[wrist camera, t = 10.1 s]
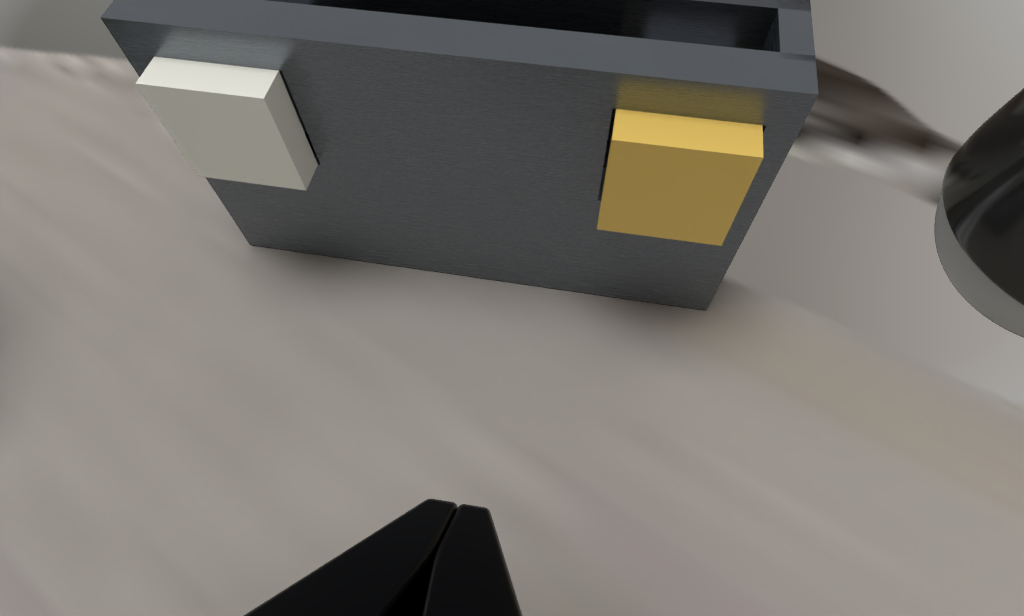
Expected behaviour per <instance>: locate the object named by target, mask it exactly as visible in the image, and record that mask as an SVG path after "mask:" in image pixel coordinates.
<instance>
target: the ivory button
mask: <svg viewBox="0 0 1024 616" xmlns="http://www.w3.org/2000/svg"><path fill="white" fill-rule="evenodd" d="M135 84H136V85H137V87H138V88H139V89H140V91H141V92H142V94H143V95H144V97H145V98H146V100H147V101H148V103H149V104H150V106H151V107H152V109H153V110H154V112H155V113H156V115H157V116H158V118H159V119H160V121H161V122H162V124H163V125H164V127H165V128H166V130H167V131H168V133H169V134H170V136H171V137H172V138H173V140H174V141H175V143H176V144H177V146H178V147H179V149H180V150H181V152H182V153H183V155H184V156H185V158H186V159H187V161H188V162H189V164H190V165H191V167H192V168H193V170H194V171H195V173H196V174H197V176H201V177H208V178H216V179H223V180H231V181H238V182H246V183H253V184H261V185H268V186H276V187H283V188H291V189H298V190H307V188H308V186H309V183H310V181H311V179H312V177H313V174H314V172H315V170H316V168H317V165H318V164H317V161H316V159H315V157H314V154H313V152H312V149H311V147H310V145H309V142H308V140H307V137H306V135H305V131H306V128H305V126H304V123H303V121H302V119H301V116H300V114H299V111H298V109H297V106H296V104H295V102H294V99H293V97H292V94H291V92H290V89H289V87H288V84H287V82H286V80H285V77H284V75H283V72H282V71H277V70H269V69H260V68H251V67H242V66H233V65H224V64H215V63H207V62H198V61H189V60H180V59H171V58H162V57H154V58H153V59H152V60H151V62H150V63H149V65H148V66H147V68H146V69H145V70H144V72H143V73H142V75H141V76H140V78H139V79H138V80H137V82H136V83H135Z"/></svg>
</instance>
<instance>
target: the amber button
mask: <svg viewBox="0 0 1024 616" xmlns="http://www.w3.org/2000/svg"><path fill="white" fill-rule="evenodd" d="M762 160H763V125H755V124H746V123H738V122H729V121H720V120H711V119H702V118H693V117H684V116H676V115H667V114H658V113H649V112H640V111H631V110H622V109H616V113H615V119H614V125H613V131H612V137H611V143H610V149H609V155H608V161H607V167H606V173H605V179H604V185H603V191H602V197H601V203H600V210H599V217H598V224H597V229H598V230H606V231H613V232H621V233H628V234H636V235H643V236H651V237H658V238H666V239H673V240H681V241H688V242H696V243H703V244H711V245H718V246H722V244H723V242H724V239H725V237H726V235H727V233H728V231H729V229H730V227H731V225H732V223H733V221H734V218H735V216H736V214H737V212H738V210H739V208H740V206H741V204H742V202H743V200H744V197H745V195H746V193H747V191H748V189H749V187H750V185H751V183H752V181H753V179H754V176H755V174H756V172H757V170H758V168H759V166H760V164H761V162H762Z"/></svg>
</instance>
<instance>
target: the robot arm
mask: <svg viewBox="0 0 1024 616" xmlns="http://www.w3.org/2000/svg"><path fill="white" fill-rule="evenodd" d="M244 616H522V613H521V610H520V607H519V603H518V600H517V597H516V594H515V591H514V587H513V584H512V581H511V578H510V574H509V571H508V568H507V565H506V562H505V558H504V555H503V552H502V549H501V545H500V542H499V539H498V536H497V532H496V529H495V526H494V523H493V520H492V516H491V513H490V511H489V510H488V509H487V508H484V507H478V506H472V505H466V504H462V505H460V506H459V507H457V505H456V504H455V503H453V502H448V501H442V500H436V499H428V500H425V501H424V502H422V503H421V504H419V505H417V506H416V507H414V508H413V509H411V510H410V511H408V512H406V513H405V514H403V515H402V516H400V517H399V518H397V519H395V520H394V521H392V522H391V523H389V524H387V525H386V526H384V527H383V528H381V529H380V530H378V531H376V532H375V533H373V534H372V535H370V536H369V537H367V538H365V539H364V540H362V541H361V542H359V543H358V544H356V545H354V546H353V547H351V548H350V549H348V550H346V551H345V552H343V553H342V554H340V555H339V556H337V557H335V558H334V559H332V560H331V561H329V562H328V563H326V564H324V565H323V566H321V567H320V568H318V569H317V570H315V571H313V572H312V573H310V574H309V575H307V576H305V577H304V578H302V579H301V580H299V581H298V582H296V583H294V584H293V585H291V586H290V587H288V588H287V589H285V590H283V591H282V592H280V593H279V594H277V595H276V596H274V597H272V598H271V599H269V600H268V601H266V602H264V603H263V604H261V605H260V606H258V607H257V608H255V609H253V610H252V611H250V612H249V613H247V614H246V615H244Z"/></svg>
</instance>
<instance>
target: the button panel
mask: <svg viewBox="0 0 1024 616" xmlns="http://www.w3.org/2000/svg"><path fill="white" fill-rule="evenodd" d="M101 19H102V21H103V22H104V24H105V25H106V27H107V28H108V30H109V31H110V33H111V34H112V36H113V37H114V39H115V40H116V42H117V43H118V45H119V47H120V48H121V50H122V51H123V53H124V54H125V56H126V57H127V59H128V60H129V62H130V63H131V65H132V66H133V68H134V69H135V71H136V72H137V74H138V75H139V77H140V76H141V75H142V73H143V72H144V70H145V69H146V68H147V66H148V65H149V63H150V62H151V60H152V59H153V58H154V57H162V58H171V59H180V60H189V61H198V62H207V63H215V64H224V65H233V66H242V67H251V68H260V69H269V70H277V71H282V72H283V75H284V77H285V80H286V82H287V84H288V87H289V89H290V92H291V94H292V97H293V99H294V102H295V104H296V106H297V109H298V111H299V114H300V116H301V119H302V121H303V123H304V126H305V128H306V131H305V135H306V137H307V140H308V142H309V145H310V147H311V149H312V152H313V154H314V157H315V159H316V161H317V164H318V165H317V168H316V170H315V172H314V174H313V177H312V179H311V181H310V183H309V186H308V188H307V190H298V189H291V188H283V187H276V186H268V185H261V184H253V183H246V182H238V181H231V180H223V179H216V178H208V177H206V179H207V180H208V182H209V183H210V185H211V186H212V188H213V189H214V191H215V192H216V194H217V195H218V197H219V198H220V200H221V201H222V203H223V204H224V206H225V207H226V209H227V210H228V212H229V213H230V215H231V216H232V218H233V220H234V221H235V223H236V224H237V226H238V227H239V229H240V230H241V232H242V233H243V235H244V236H245V238H246V239H247V241H248V242H249V244H250V245H255V246H262V247H269V248H276V249H283V250H290V251H297V252H304V253H311V254H318V255H325V256H332V257H339V258H346V259H353V260H359V261H366V262H373V263H380V264H387V265H394V266H401V267H408V268H415V269H422V270H429V271H436V272H443V273H450V274H456V275H463V276H470V277H477V278H484V279H491V280H498V281H505V282H512V283H519V284H526V285H533V286H540V287H547V288H554V289H560V290H567V291H574V292H581V293H588V294H595V295H602V296H609V297H616V298H623V299H630V300H637V301H644V302H651V303H657V304H664V305H671V306H678V307H685V308H692V309H699V310H707V308H708V306H709V304H710V302H711V300H712V298H713V296H714V294H715V292H716V291H717V289H718V287H719V285H720V283H721V281H722V279H723V277H724V275H725V273H726V271H727V269H728V267H729V265H730V264H731V262H732V260H733V258H734V256H735V254H736V252H737V250H738V248H739V246H740V244H741V243H742V240H743V239H744V236H745V235H746V233H747V231H748V229H749V227H750V225H751V223H752V221H753V219H754V217H755V216H756V214H757V212H758V210H759V208H760V206H761V204H762V202H763V200H764V198H765V196H766V194H767V193H768V190H769V189H770V187H771V185H772V183H773V181H774V179H775V177H776V175H777V173H778V171H779V170H780V168H781V166H782V164H783V162H784V160H785V158H786V156H787V154H788V152H789V150H790V148H791V146H792V145H793V143H794V141H795V139H796V137H797V135H798V133H799V131H800V129H801V127H802V125H803V123H804V122H805V120H806V118H807V116H808V114H809V112H810V110H811V108H812V106H813V104H814V102H815V100H816V98H817V97H818V95H819V94H818V83H817V72H816V61H815V50H814V40H813V29H812V17H811V6H810V0H114V1H113V2H112V4H111V5H110V7H109V8H108V9H107V10H106V11H105V13H104V14H103V15H102V17H101ZM616 109H622V110H631V111H640V112H649V113H658V114H667V115H676V116H684V117H693V118H702V119H711V120H720V121H729V122H738V123H746V124H755V125H763V160H762V162H761V164H760V166H759V168H758V170H757V172H756V174H755V176H754V179H753V181H752V183H751V185H750V187H749V189H748V191H747V193H746V195H745V197H744V200H743V202H742V204H741V206H740V208H739V210H738V212H737V214H736V216H735V218H734V221H733V223H732V225H731V227H730V229H729V231H728V233H727V235H726V237H725V239H724V242H723V244H722V246H718V245H711V244H703V243H696V242H688V241H681V240H673V239H666V238H658V237H651V236H643V235H636V234H628V233H621V232H613V231H606V230H598V229H597V224H598V217H599V210H600V203H601V197H602V191H603V185H604V179H605V173H606V167H607V161H608V155H609V149H610V143H611V137H612V131H613V125H614V119H615V113H616Z"/></svg>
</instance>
